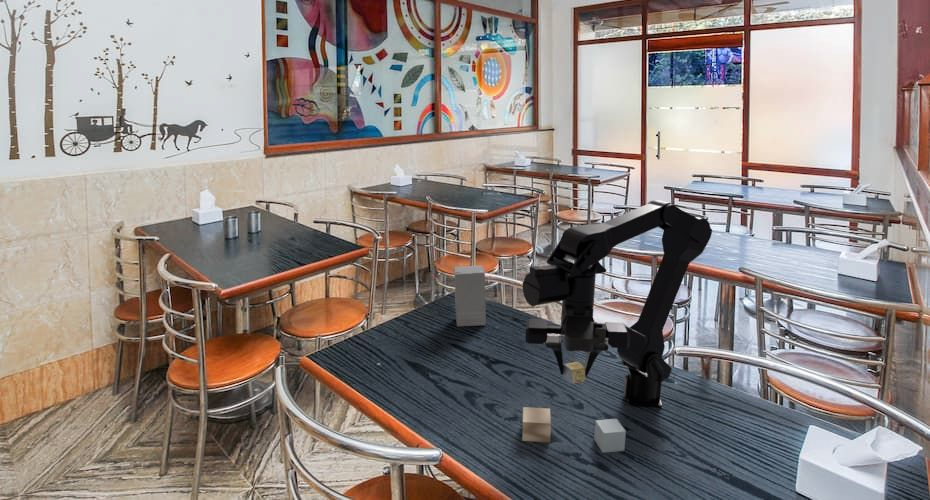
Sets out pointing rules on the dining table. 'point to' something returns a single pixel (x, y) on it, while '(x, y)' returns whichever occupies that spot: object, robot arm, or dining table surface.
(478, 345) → the dining table surface
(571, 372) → the alphabet block
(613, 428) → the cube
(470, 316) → the skincare box
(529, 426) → the beech block
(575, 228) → the robot arm
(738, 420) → the dining table surface
